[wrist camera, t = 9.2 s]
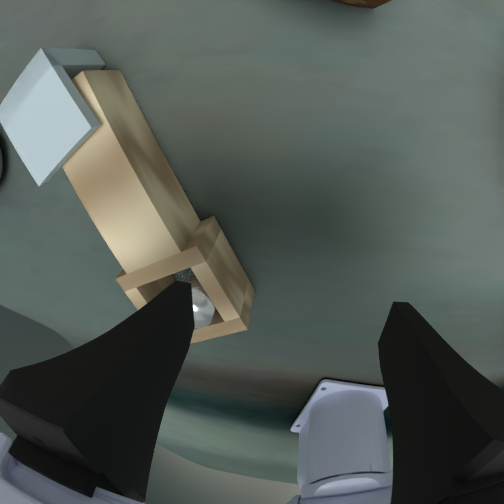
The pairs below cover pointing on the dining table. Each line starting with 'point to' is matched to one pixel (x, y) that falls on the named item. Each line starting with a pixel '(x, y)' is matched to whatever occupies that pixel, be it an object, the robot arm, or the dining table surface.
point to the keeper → (49, 109)
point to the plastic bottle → (1, 163)
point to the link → (150, 209)
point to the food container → (363, 3)
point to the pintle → (200, 302)
